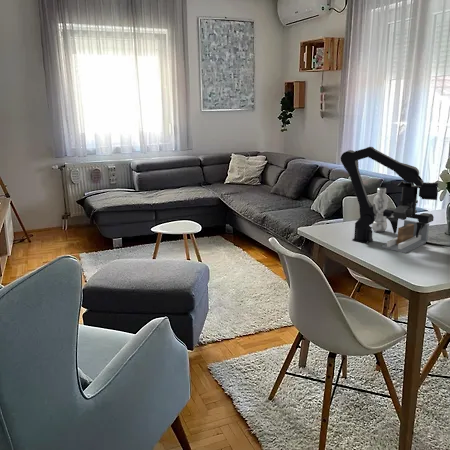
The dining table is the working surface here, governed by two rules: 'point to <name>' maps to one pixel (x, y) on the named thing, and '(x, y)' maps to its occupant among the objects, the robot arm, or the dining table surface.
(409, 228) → the door panel
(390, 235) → the dining table surface
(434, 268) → the dining table surface
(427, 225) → the track board
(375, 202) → the plastic bottle
